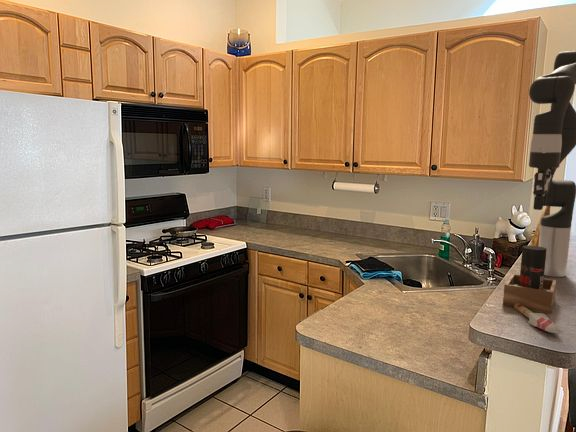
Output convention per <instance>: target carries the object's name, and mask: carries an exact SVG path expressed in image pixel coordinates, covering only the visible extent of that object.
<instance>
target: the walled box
mask: <svg viewBox="0 0 576 432" xmlns="http://www.w3.org/2000/svg"><path fill="white" fill-rule="evenodd" d="M519 280H520V274H518V273H517V274H516V273H511V275H510V276H509V277H508V278H507V280H506V282H505V283H504V286H503V287H504V288H503V297H502V298H503V299H502V306H506V307H510V308H514V307H515V304H516V303H519V304H521V305H522V306H524V307H525V308H527V309H528V310H530V311H531V312H535V313H544V314H545V315H551V314H552V310H553V307H554V304H555V298H556V290H557V289H556V288H557V280H556V279H549V278H544V281H543V290H539V289H533V288H527V287H521V286H519Z"/></svg>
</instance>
